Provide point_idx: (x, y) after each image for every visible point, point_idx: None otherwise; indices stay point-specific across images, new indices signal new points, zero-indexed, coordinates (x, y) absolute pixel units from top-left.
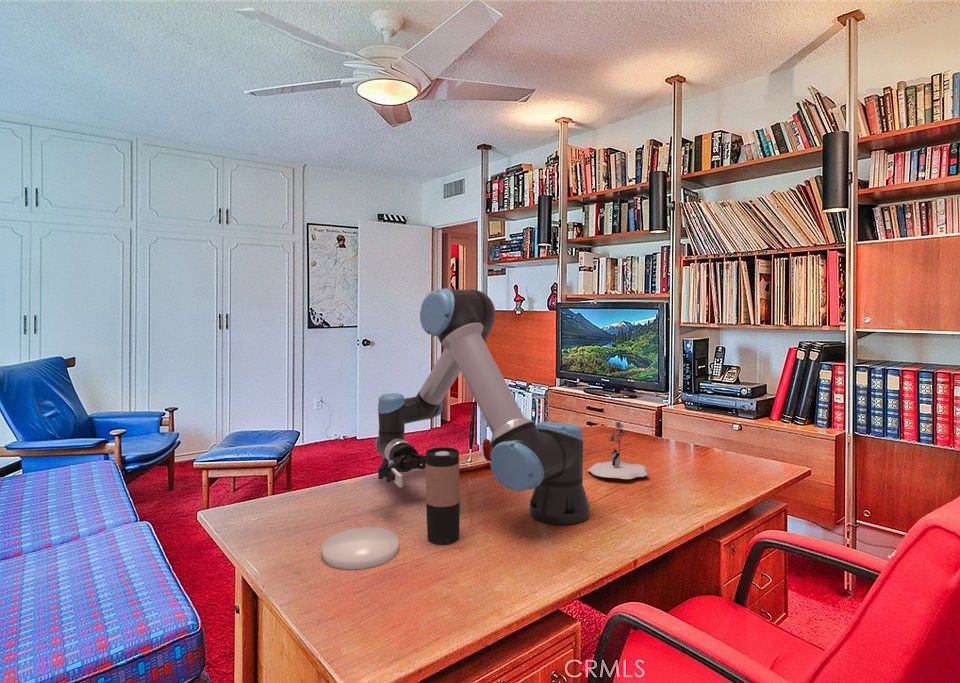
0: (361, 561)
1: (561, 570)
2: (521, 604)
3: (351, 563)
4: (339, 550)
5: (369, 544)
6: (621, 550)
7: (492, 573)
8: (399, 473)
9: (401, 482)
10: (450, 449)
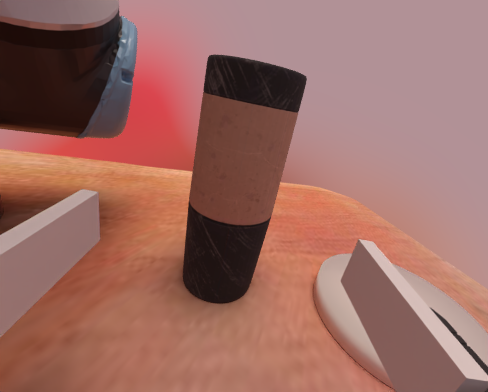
0: None
1: (153, 177)
2: None
3: None
4: (430, 297)
5: None
6: (61, 162)
7: None
8: (379, 263)
9: (350, 264)
10: (216, 61)
